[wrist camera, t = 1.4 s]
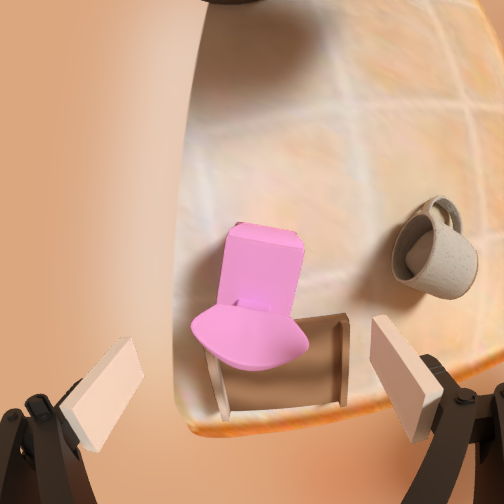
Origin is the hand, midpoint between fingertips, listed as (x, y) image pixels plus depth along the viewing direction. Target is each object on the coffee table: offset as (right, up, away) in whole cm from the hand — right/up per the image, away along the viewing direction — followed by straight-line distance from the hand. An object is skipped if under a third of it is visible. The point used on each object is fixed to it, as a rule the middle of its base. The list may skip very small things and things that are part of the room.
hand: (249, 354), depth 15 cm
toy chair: (+1, +4, +17) cm, 18 cm away
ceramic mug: (+20, +7, +15) cm, 26 cm away
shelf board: (+4, -8, +20) cm, 22 cm away
